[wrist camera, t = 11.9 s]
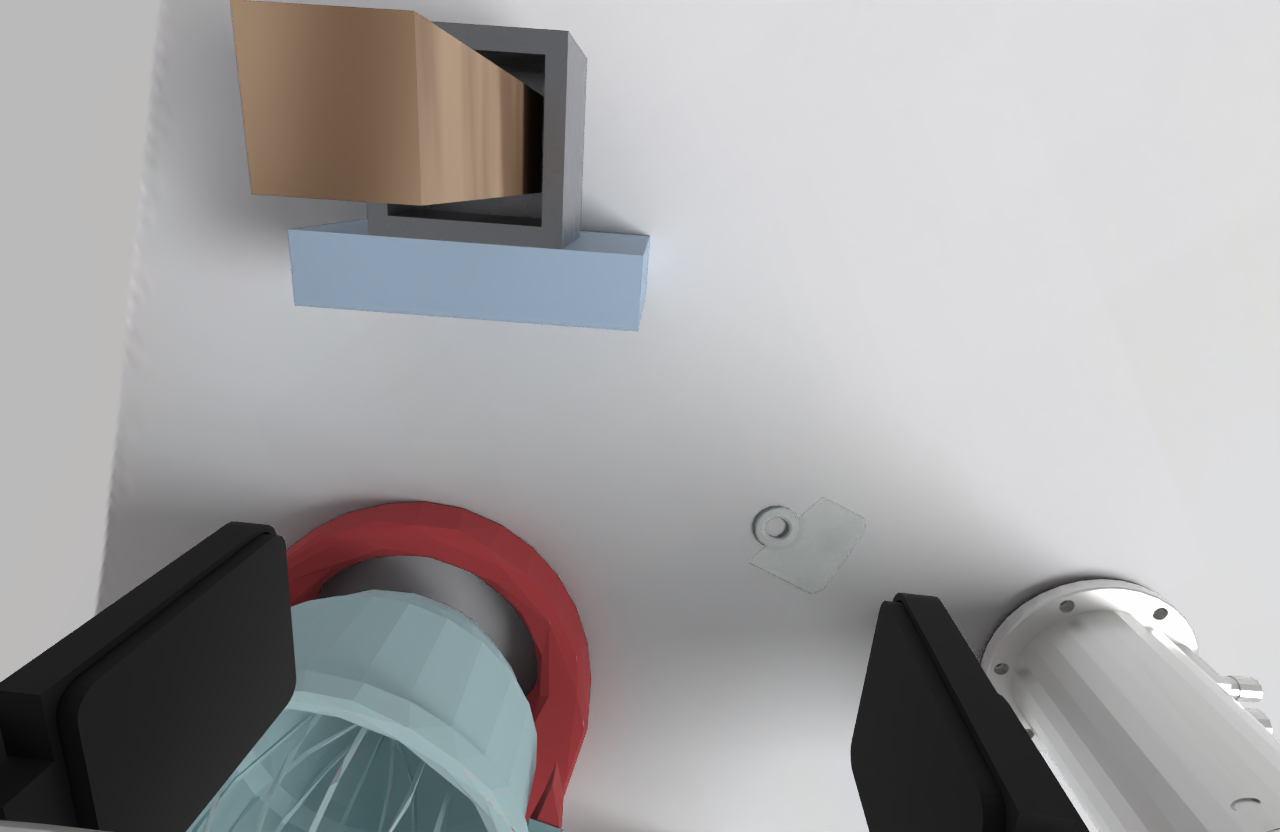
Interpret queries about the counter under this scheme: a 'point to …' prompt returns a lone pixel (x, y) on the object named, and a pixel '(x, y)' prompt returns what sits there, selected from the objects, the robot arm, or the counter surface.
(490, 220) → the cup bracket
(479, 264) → the slate-blue board
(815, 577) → the mounting bracket
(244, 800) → the stand mixer
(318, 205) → the counter surface
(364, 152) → the walnut rail
